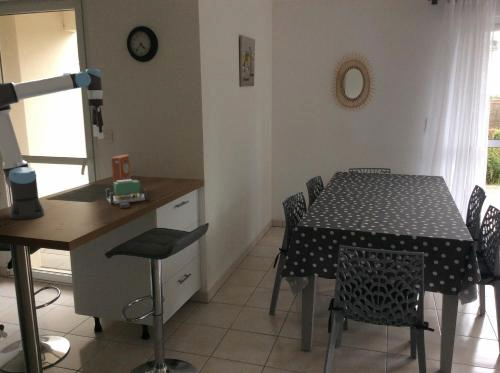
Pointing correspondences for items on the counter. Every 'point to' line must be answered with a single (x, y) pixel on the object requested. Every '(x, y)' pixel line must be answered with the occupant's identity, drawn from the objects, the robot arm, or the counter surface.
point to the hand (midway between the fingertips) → (98, 137)
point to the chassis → (126, 197)
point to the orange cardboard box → (121, 167)
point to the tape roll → (124, 205)
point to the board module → (126, 186)
